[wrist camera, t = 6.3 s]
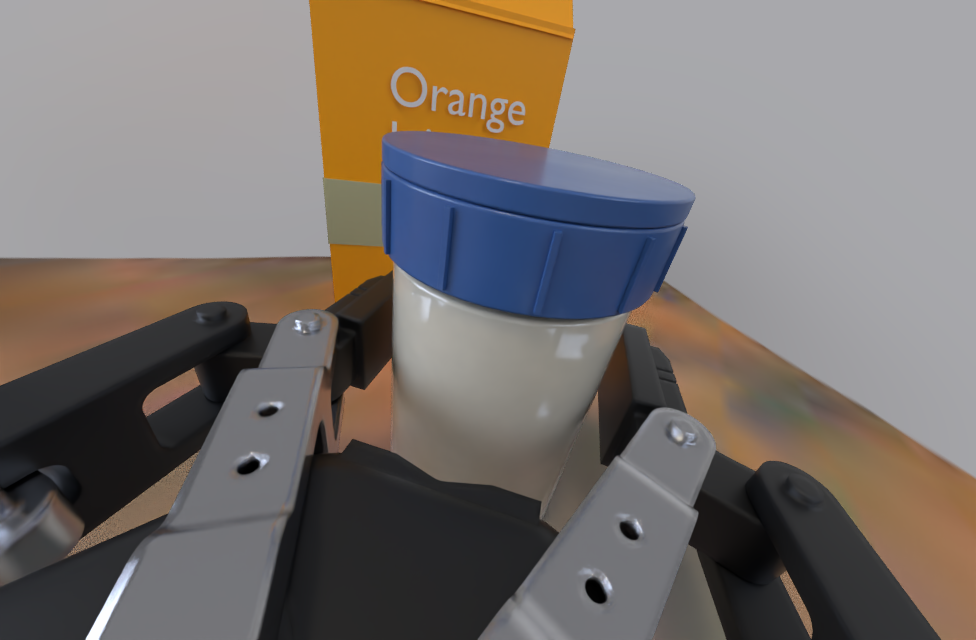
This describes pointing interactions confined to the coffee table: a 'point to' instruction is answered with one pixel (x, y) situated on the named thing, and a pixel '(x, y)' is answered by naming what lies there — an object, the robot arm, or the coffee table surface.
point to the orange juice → (424, 95)
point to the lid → (527, 224)
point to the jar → (491, 388)
